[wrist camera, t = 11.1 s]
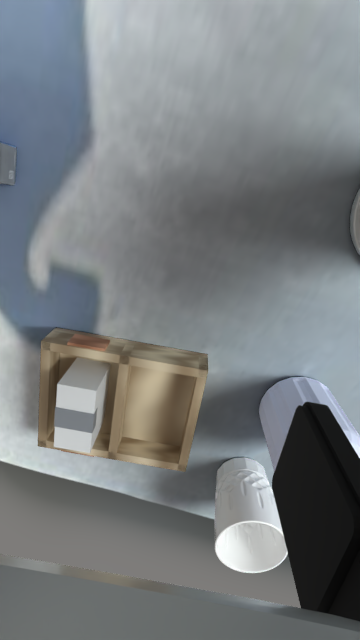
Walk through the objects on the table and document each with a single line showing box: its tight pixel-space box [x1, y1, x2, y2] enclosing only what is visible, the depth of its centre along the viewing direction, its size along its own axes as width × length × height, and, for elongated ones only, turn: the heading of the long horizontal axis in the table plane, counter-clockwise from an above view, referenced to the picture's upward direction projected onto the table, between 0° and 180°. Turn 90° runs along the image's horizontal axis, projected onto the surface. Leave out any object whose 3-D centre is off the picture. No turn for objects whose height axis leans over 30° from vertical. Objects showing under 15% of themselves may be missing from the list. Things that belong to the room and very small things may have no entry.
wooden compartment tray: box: [38, 327, 208, 472], centre depth 41 cm, size 18×15×4 cm
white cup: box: [215, 457, 288, 573], centre depth 42 cm, size 8×8×10 cm
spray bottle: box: [259, 377, 360, 472], centre depth 31 cm, size 9×9×25 cm
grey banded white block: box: [54, 357, 111, 453], centre depth 39 cm, size 4×8×6 cm, turn 170°
